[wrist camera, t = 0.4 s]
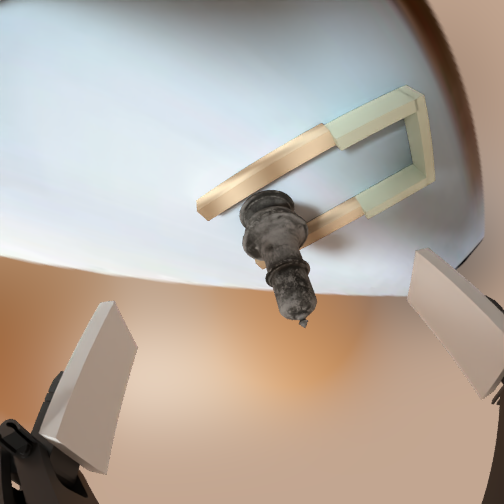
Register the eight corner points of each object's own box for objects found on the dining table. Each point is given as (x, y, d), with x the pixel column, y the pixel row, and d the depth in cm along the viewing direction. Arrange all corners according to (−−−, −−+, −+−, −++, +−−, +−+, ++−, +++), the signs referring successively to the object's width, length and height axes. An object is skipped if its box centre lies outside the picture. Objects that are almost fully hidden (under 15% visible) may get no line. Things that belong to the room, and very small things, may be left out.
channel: (260, 259, 31) (262, 269, 30) (196, 200, 23) (197, 211, 22) (358, 205, 27) (364, 214, 26) (321, 122, 19) (329, 130, 18)
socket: (357, 203, 27) (367, 219, 25) (322, 125, 20) (336, 139, 18) (421, 167, 24) (435, 180, 23) (405, 84, 17) (424, 95, 15)
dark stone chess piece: (308, 198, 25) (360, 307, 18) (277, 239, 29) (311, 344, 21) (254, 179, 23) (295, 302, 15) (226, 227, 26) (248, 345, 19)
